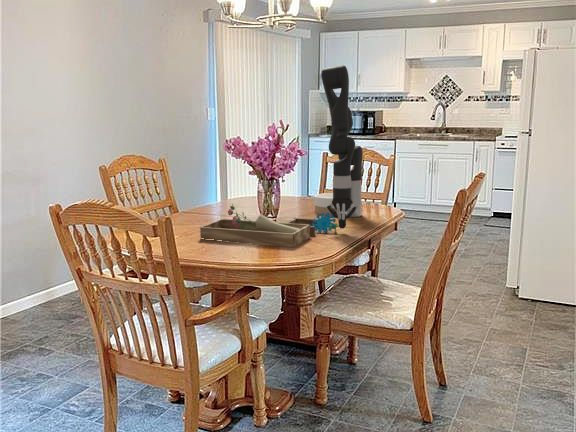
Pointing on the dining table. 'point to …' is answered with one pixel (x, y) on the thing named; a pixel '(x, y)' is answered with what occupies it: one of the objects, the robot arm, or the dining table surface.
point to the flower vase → (262, 223)
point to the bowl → (323, 203)
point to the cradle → (305, 221)
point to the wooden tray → (254, 233)
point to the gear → (325, 223)
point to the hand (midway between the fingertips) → (342, 228)
